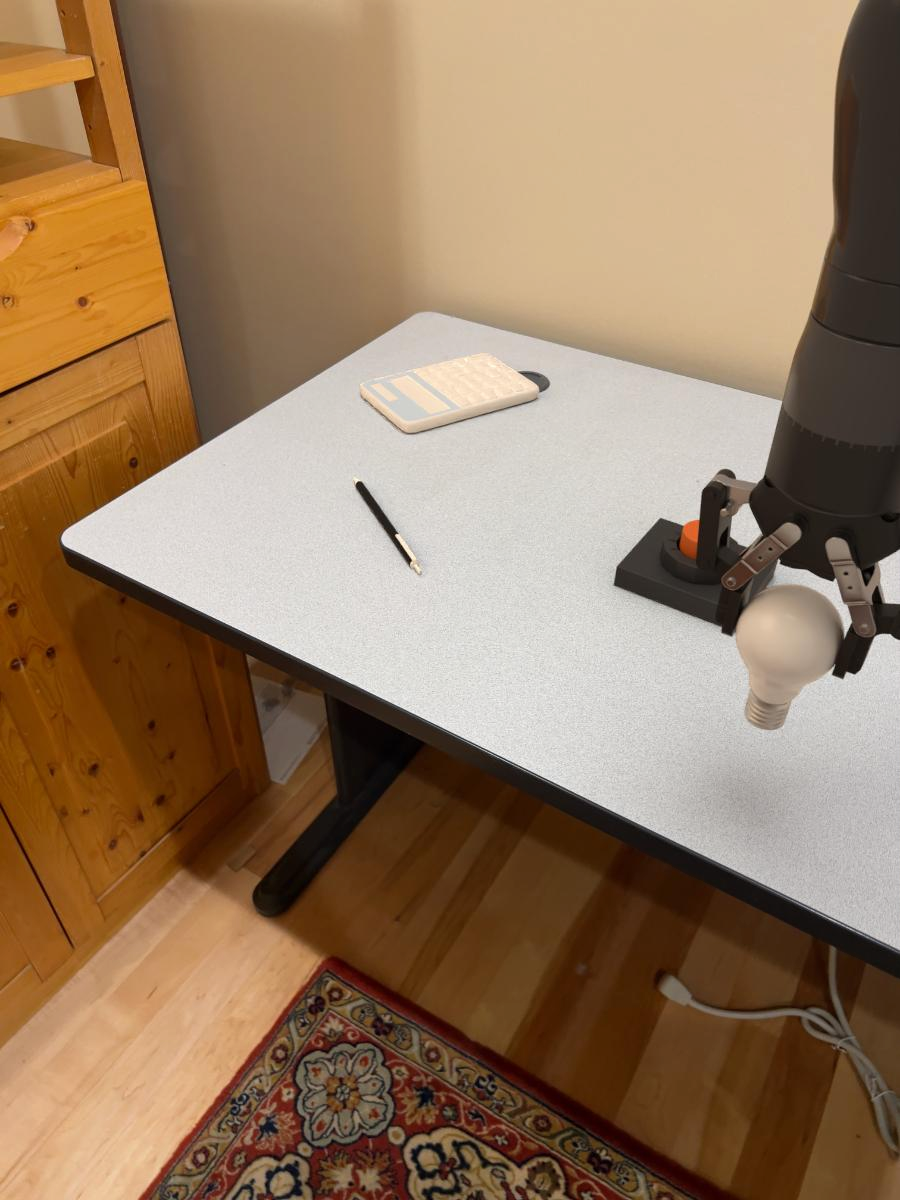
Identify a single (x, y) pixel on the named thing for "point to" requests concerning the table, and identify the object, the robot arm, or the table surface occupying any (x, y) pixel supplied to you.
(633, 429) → the table surface
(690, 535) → the button
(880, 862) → the table surface
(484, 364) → the calculator
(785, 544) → the robot arm
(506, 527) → the table surface
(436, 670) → the table surface
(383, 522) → the pen
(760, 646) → the lightbulb
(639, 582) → the housing
